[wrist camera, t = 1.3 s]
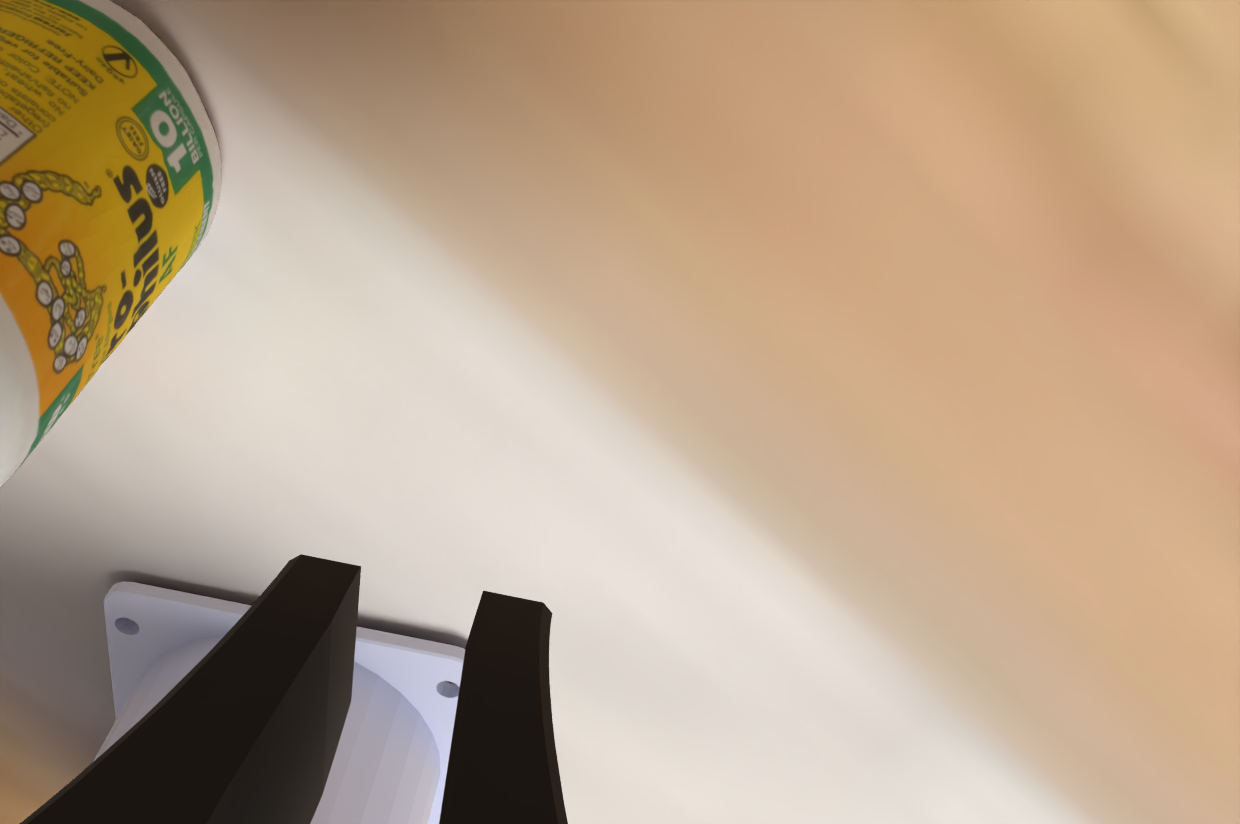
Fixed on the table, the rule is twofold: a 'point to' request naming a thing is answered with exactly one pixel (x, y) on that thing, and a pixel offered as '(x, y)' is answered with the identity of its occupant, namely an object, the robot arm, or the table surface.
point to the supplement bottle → (88, 197)
